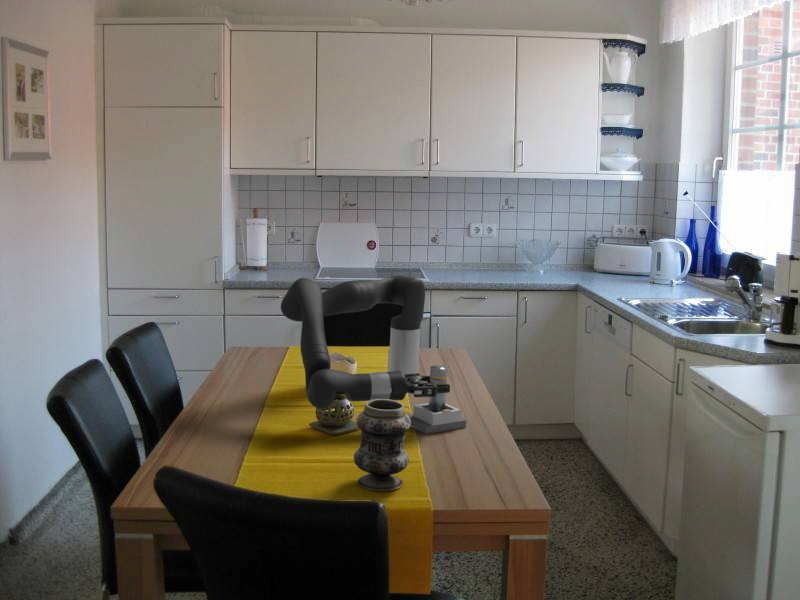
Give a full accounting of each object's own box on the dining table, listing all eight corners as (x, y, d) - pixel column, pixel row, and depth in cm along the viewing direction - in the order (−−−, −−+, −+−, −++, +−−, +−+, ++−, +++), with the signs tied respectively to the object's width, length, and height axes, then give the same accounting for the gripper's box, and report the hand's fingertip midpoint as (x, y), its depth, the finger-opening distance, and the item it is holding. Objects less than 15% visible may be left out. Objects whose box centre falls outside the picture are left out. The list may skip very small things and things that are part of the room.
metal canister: (424, 417, 235) (426, 366, 233) (438, 414, 238) (440, 364, 235) (434, 422, 231) (436, 370, 229) (448, 419, 234) (451, 368, 231)
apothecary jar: (418, 488, 191) (422, 408, 188) (370, 497, 185) (374, 415, 182) (389, 470, 201) (392, 393, 198) (342, 478, 195) (345, 399, 192)
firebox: (402, 422, 237) (403, 402, 236) (441, 416, 244) (442, 396, 243) (425, 434, 228) (427, 413, 227) (466, 427, 235) (467, 407, 234)
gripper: (376, 392, 236) (433, 390, 241) (392, 408, 222) (452, 405, 227) (377, 365, 234) (435, 363, 239) (394, 379, 221) (454, 377, 226)
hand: (443, 383), depth 233 cm, fingers open, 8 cm apart
